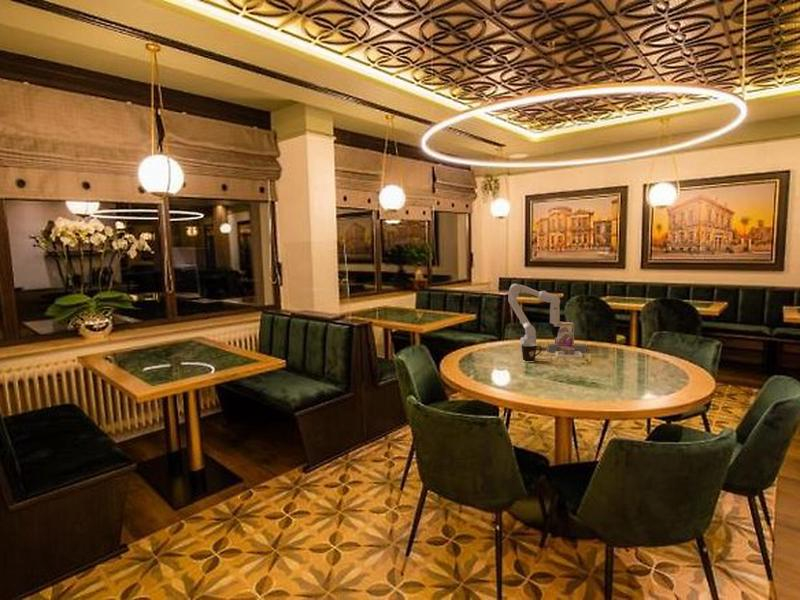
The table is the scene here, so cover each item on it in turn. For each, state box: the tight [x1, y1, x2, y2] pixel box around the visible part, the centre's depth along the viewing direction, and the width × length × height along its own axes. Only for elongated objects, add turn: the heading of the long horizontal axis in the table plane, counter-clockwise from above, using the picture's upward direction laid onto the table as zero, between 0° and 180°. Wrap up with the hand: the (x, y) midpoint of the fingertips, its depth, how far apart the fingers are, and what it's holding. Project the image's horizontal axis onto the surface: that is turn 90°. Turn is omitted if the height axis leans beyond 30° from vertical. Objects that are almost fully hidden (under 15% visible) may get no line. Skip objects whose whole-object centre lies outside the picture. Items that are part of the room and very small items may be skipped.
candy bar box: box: [554, 321, 575, 348], centre depth 303 cm, size 11×5×16 cm, turn 58°
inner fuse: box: [547, 343, 560, 354], centre depth 288 cm, size 6×4×4 cm, turn 77°
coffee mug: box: [521, 343, 543, 361], centre depth 270 cm, size 12×9×10 cm
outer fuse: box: [574, 343, 587, 354], centre depth 284 cm, size 6×4×4 cm, turn 77°
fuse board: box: [545, 346, 590, 354], centre depth 286 cm, size 25×6×4 cm, turn 77°
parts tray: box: [555, 350, 584, 359], centre depth 277 cm, size 14×10×2 cm
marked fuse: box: [562, 347, 576, 355], centre depth 277 cm, size 6×4×5 cm
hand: (554, 335), depth 295 cm, fingers open, 7 cm apart
